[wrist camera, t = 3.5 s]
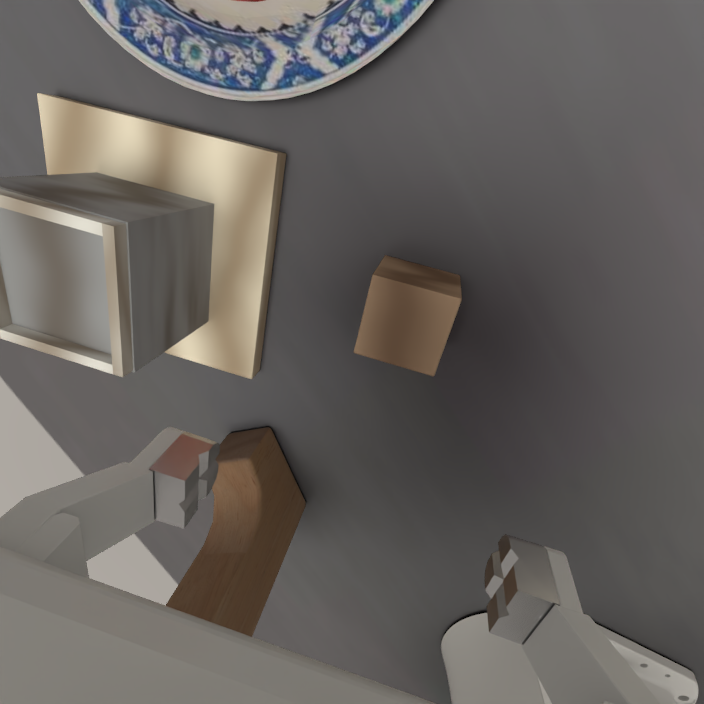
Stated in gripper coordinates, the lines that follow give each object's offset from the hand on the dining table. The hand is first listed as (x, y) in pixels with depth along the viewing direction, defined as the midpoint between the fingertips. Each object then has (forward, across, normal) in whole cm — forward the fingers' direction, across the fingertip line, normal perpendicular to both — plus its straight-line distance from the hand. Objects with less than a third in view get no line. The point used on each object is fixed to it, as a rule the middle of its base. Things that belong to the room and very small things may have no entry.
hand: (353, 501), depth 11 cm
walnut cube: (+19, 0, 0) cm, 19 cm away
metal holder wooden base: (+19, -18, -2) cm, 26 cm away
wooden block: (+18, -8, -20) cm, 28 cm away
